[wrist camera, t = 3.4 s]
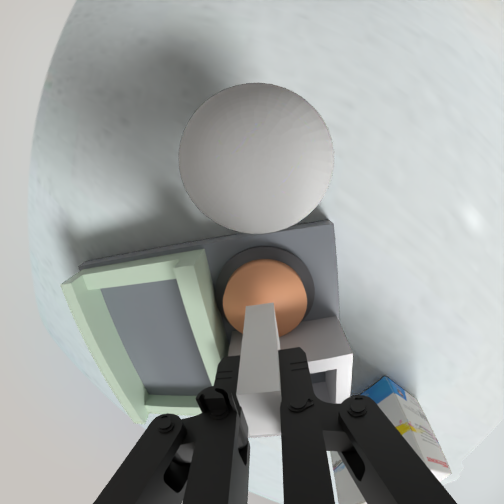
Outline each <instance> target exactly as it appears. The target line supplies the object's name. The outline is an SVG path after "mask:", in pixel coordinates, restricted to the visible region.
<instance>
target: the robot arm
mask: <svg viewBox="0 0 504 504" xmlns="http://www.w3.org/2000/svg"><path fill="white" fill-rule="evenodd" d="M195 399H196V401H197V403H198V405H199V408H200V410H201V412H202V413H201V414H199V415H197V416H194V417H190V418H186V419H180V418H179V416H177V415H175V414H169V413H167V414H162V415H160V416H158V417H156V418H155V419H154V420H153V421H152V422H151V423H150V425H149V426H148V428H147V429H146V430H145V432H144V434H143V435H142V436H141V438H140V439H139V440H138V442H137V443H136V445H135V446H134V448H133V449H132V450H131V452H130V453H129V455H128V456H127V457H126V459H125V460H124V462H123V463H122V464H121V466H120V467H119V469H118V470H117V471H116V473H115V474H114V476H113V477H112V478H111V480H110V481H109V483H108V484H107V485H106V487H105V488H104V489H103V491H102V492H101V494H100V495H99V496H98V498H97V499H96V501H95V502H94V503H93V504H181V503H182V501H183V504H247V500H248V479H249V458H250V444H249V441H248V431H249V434H250V436H254V435H267V434H278V433H281V439H282V462H283V488H284V504H335V501H334V495H333V488H332V482H331V476H330V470H329V464H328V458H327V452H326V451H337V452H338V454H339V456H340V458H341V459H342V461H343V463H344V465H345V466H346V468H347V470H348V472H349V473H350V475H351V477H352V479H353V480H354V482H355V484H356V485H357V487H358V489H359V491H360V492H361V494H362V496H363V497H364V499H365V501H366V503H367V504H457V503H456V502H455V500H454V499H453V498H452V497H451V495H450V494H449V493H448V492H447V491H446V489H445V488H444V487H443V486H442V484H441V483H440V482H439V481H438V479H437V478H436V477H435V476H434V474H433V473H432V472H431V471H430V469H429V468H428V467H427V466H426V464H425V463H424V462H423V461H422V460H421V458H420V457H419V456H418V455H417V453H416V452H415V451H414V450H413V448H412V447H411V446H410V445H409V443H408V442H407V441H406V440H405V438H404V437H403V436H402V435H401V434H400V432H399V431H398V430H397V429H396V427H395V426H394V425H393V424H392V422H391V421H390V420H389V419H388V417H387V416H386V415H385V414H384V412H383V411H382V410H381V409H380V408H379V406H378V405H377V404H376V403H375V401H374V400H372V399H371V398H370V397H367V396H364V395H355V396H351V397H348V398H347V399H345V400H344V401H343V402H342V403H341V404H338V403H327V402H324V401H321V400H320V399H319V398H317V397H316V395H315V393H314V391H313V386H312V381H311V376H310V371H309V366H308V362H307V357H306V353H305V352H304V351H303V350H302V349H301V348H300V347H295V348H289V349H282V350H280V341H279V335H278V328H277V322H276V316H275V309H274V303H266V304H259V305H252V306H246V311H245V320H244V329H243V338H242V347H241V355H237V356H227V357H223V358H222V360H221V361H220V362H219V364H218V367H217V373H216V376H215V381H214V386H211V387H208V388H205V389H203V390H202V391H201V392H199V393H198V395H197V397H196V398H195Z"/></svg>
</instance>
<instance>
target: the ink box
mask: <svg viewBox="0 0 504 504" xmlns="http://www.w3.org/2000/svg"><path fill="white" fill-rule="evenodd" d="M361 395H364V396H367V397H370V398H371V399H372V400H374V401H375V403H376V404H377V405H378V406H379V408H380V409H381V410H382V411H383V412H384V414H385V415H386V416H387V417H388V419H389V420H390V421H391V422H392V424H393V425H394V426H395V427H396V429H397V430H398V431H399V432H400V434H401V435H402V436H403V437H404V438H405V440H406V441H407V442H408V443H409V445H410V446H411V447H412V448H413V450H414V451H415V452H416V453H417V455H418V456H419V457H420V458H421V460H422V461H423V462H424V463H425V464H426V466H427V467H428V468H429V469H430V471H431V472H432V473H433V474H434V476H435V477H436V478H437V479H438V481H439V482H440V481H442V480H443V479H445V478H446V477H448V476H450V475H451V474H452V472H451V470H450V467H449V465H448V463H447V460H446V458H445V456H444V453H443V451H442V449H441V447H440V445H439V442H438V440H437V438H436V436H435V434H434V432H433V430H432V428H431V426H430V424H429V422H428V420H427V418H426V416H425V414H424V412H423V410H422V408H421V406H420V404H419V402H418V400H416V399H415V398H414V397H413V396H411V395H410V394H409V393H408V392H406V391H405V390H403V389H402V388H401V387H399V386H398V385H397V384H395V383H394V382H393V381H392V380H390V379H389V378H388V377H386V376H384V377H383V378H382V379H381V380H379V381H378V382H377V383H375V384H374V385H373V386H372V387H370V388H369V389H367V390H366V391H365V392H363V393H362V394H361ZM330 454H331V459H332V465H333V471H334V477H335V483H336V489H337V496H338V502H339V504H367V503H366V501H365V499H364V497H363V496H362V494H361V492H360V491H359V489H358V487H357V485H356V484H355V482H354V480H353V479H352V477H351V475H350V473H349V472H348V470H347V468H346V466H345V465H344V463H343V461H342V459H341V458H340V456H339V454H338V452H337V451H330Z"/></svg>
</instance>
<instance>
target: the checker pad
mask: <svg viewBox="0 0 504 504" xmlns="http://www.w3.org/2000/svg"><path fill="white" fill-rule="evenodd" d="M266 303H274V309H275V316H276V322H277V328H278V335H279V337H281V336H283V335H285V334H287V333H289V332H291V331H292V330H293V329H294V328H295V327H297V326H298V324H299V323H300V322H301V320H302V319H303V317H304V315H305V312H306V309H307V296H306V292H305V289H304V286H303V283H302V280H301V278H300V277H299V275H298V274H297V273H296V272H295V270H294V269H292V268H291V267H290V266H288V265H287V264H285V263H283V262H280V261H277V260H273V259H257V260H253V261H250V262H247V263H245V264H243V265H242V266H240V267H239V268H238V269H237V270H236V271H235V272H234V273H233V274H232V275H231V277H230V278H229V280H228V283H227V286H226V289H225V293H224V296H223V309H224V313H225V315H226V318H227V319H228V321H229V322H230V324H231V325H232V326H233V327H234V328H235V329H236V330H238V331H239V332H241V333H242V334H243V329H244V320H245V311H246V306H252V305H259V304H266Z"/></svg>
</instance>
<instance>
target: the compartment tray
mask: <svg viewBox="0 0 504 504" xmlns="http://www.w3.org/2000/svg"><path fill="white" fill-rule="evenodd" d="M257 259H273V260H277V261H280V262H283V263H285V264H287V265H288V266H290V267H291V268H292V269H294V270H295V272H296V273H297V274H298V275H299V277H300V278H301V280H302V283H303V286H304V289H305V292H306V296H307V309H306V312H305V315H304V317H303V319H302V320H301V322H300V323H299V324H298V326H297V327H295V328H294V329H293V330H292V331H291V332H289V333H287V334H285V335H283V336H281V337H279V341H280V350H282V349H289V348H295V347H300V348H301V349H302V350H303V351H304V352H305V353H306V357H307V362H308V366H309V371H310V376H311V381H312V386H313V391H314V393H315V395H316V397H317V398H319V399H320V400H321V401H324V402H327V403H338V404H341V403H342V402H343V401H344V400H345V399H347V398H348V397H350V392H351V380H352V365H353V352H352V350H351V347H350V345H349V343H348V340H347V338H346V336H345V333H344V331H343V329H342V327H341V324H340V322H339V291H338V272H337V257H336V245H335V233H334V224H333V223H332V222H331V221H330V220H325V221H318V222H312V223H305V224H298V225H292V226H290V227H288V228H285V229H282V230H279V231H276V232H270V233H264V234H250V233H241V234H235V235H229V236H223V237H217V238H211V239H205V240H199V241H194V242H188V243H182V244H176V245H171V246H165V247H160V248H154V249H149V250H143V251H138V252H132V253H127V254H122V255H117V256H111V257H106V258H101V259H96V260H91V261H86V262H84V263H83V264H81V265H80V266H78V267H79V270H80V271H79V272H78V273H76V274H75V275H73V276H72V277H71V278H69V279H68V280H66V281H65V282H63V283H62V284H61V288H62V291H63V293H64V296H65V298H66V301H67V303H68V306H69V308H70V311H71V313H72V315H73V318H74V320H75V322H76V324H77V326H78V329H79V331H80V333H81V335H82V337H83V339H84V341H85V343H86V345H87V347H88V349H89V351H90V353H91V355H92V357H93V358H94V360H95V362H96V364H97V366H98V368H99V369H100V371H101V373H102V375H103V376H104V378H105V380H106V381H107V383H108V385H109V386H110V388H111V390H112V391H113V393H114V394H115V396H116V397H117V399H118V401H119V402H120V404H121V405H122V407H123V408H124V410H125V411H126V412H127V414H128V415H129V417H130V418H131V420H132V421H133V422H134V423H137V424H145V423H146V420H147V418H148V415H149V413H152V414H167V413H169V414H175V415H192V416H197V415H199V414H201V413H202V412H201V410H200V408H199V405H198V403H197V401H196V399H195V398H196V397H197V395H198V393H199V392H201V391H202V390H203V389H205V388H208V387H211V386H214V381H215V376H216V373H217V367H218V364H219V362H220V361H221V360H222V358H223V357H227V356H237V355H241V347H242V338H243V334H242V333H241V332H239V331H238V330H236V329H235V328H234V327H233V326H232V325H231V324H230V322H229V321H228V319H227V318H226V315H225V313H224V309H223V296H224V293H225V289H226V286H227V283H228V280H229V278H230V277H231V275H232V274H233V273H234V272H235V271H236V270H237V269H238V268H239V267H240V266H242V265H243V264H245V263H247V262H250V261H253V260H257ZM279 435H281V433H278V434H267V435H254V436H250V434H249V431H248V438H255V437H268V436H279Z"/></svg>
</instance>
